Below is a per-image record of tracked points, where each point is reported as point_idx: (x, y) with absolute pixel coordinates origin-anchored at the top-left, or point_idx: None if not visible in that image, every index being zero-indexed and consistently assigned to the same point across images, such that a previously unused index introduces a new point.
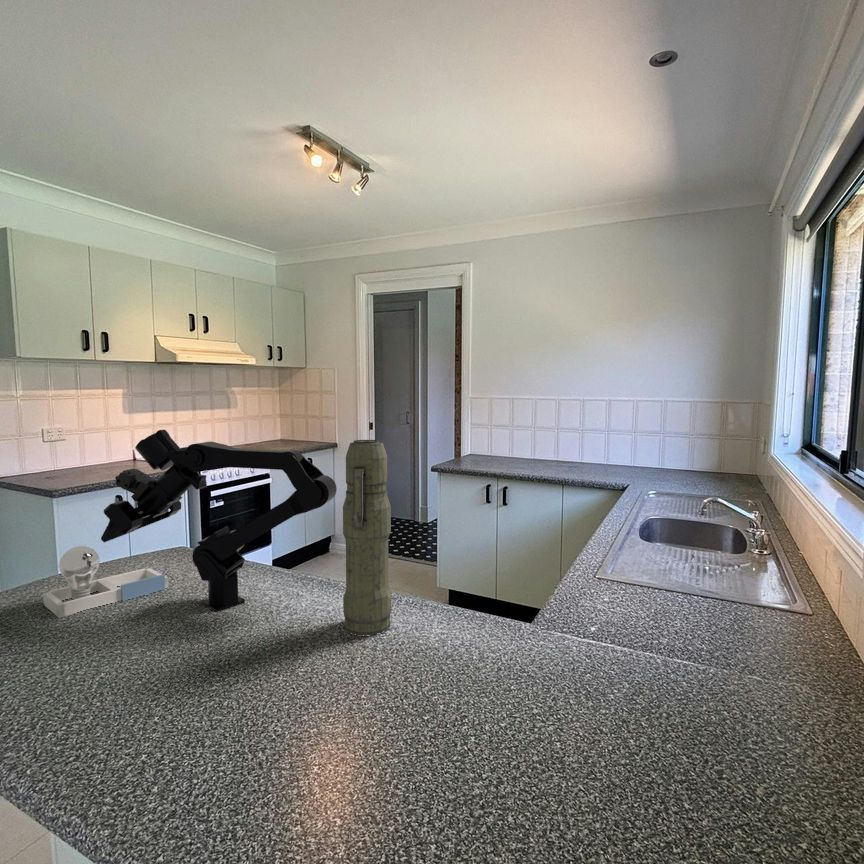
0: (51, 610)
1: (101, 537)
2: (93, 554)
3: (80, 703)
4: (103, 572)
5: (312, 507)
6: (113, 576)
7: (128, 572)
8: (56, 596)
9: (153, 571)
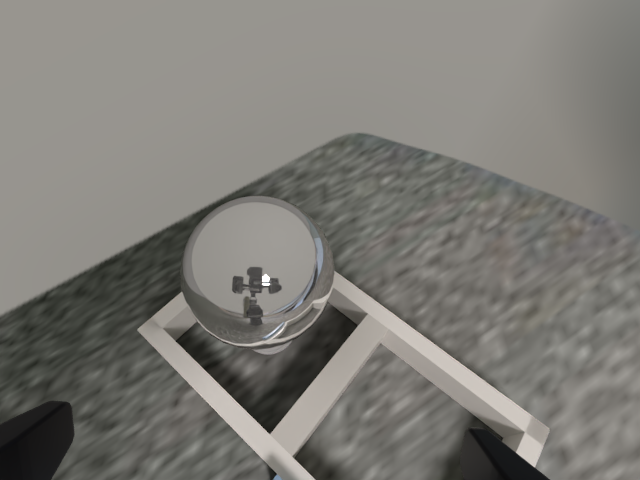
0: None
1: (36, 409)
2: (248, 315)
3: None
4: (520, 245)
5: None
6: (419, 343)
7: (472, 375)
8: None
9: None
